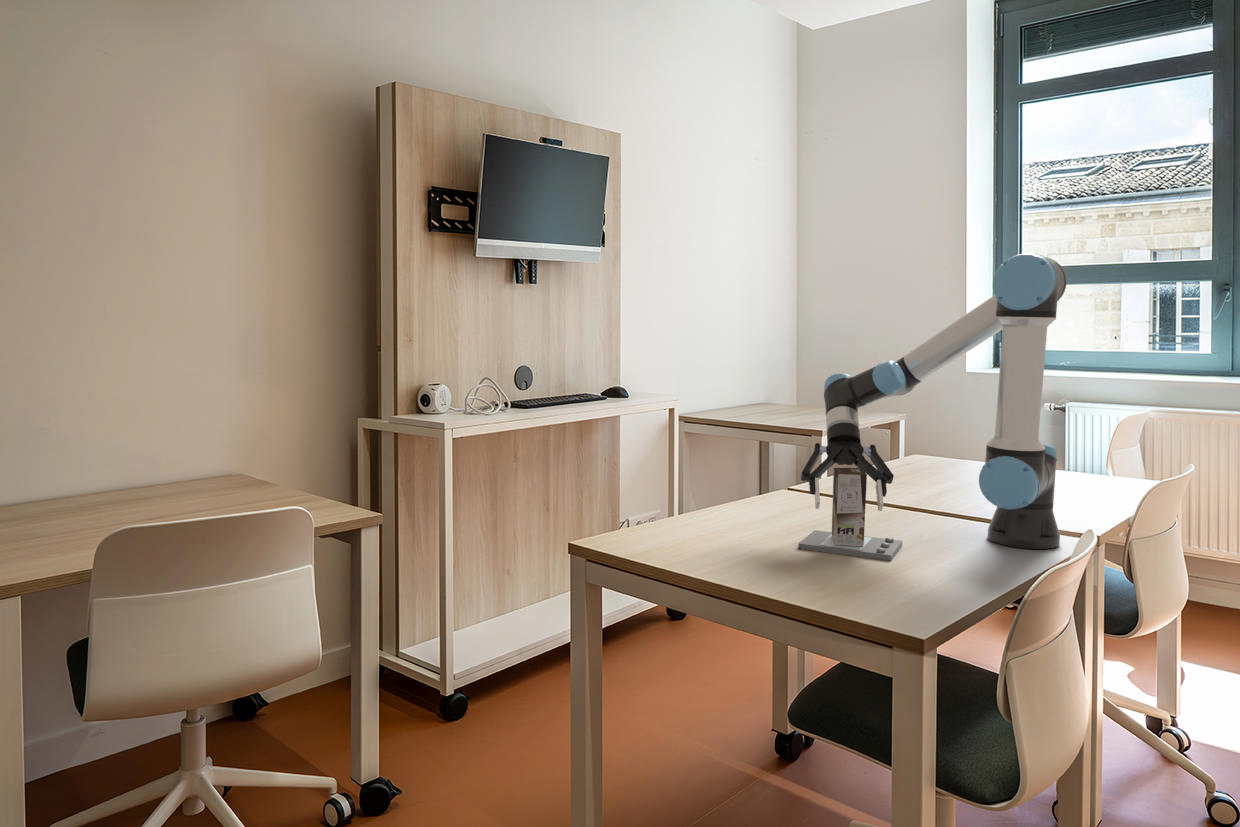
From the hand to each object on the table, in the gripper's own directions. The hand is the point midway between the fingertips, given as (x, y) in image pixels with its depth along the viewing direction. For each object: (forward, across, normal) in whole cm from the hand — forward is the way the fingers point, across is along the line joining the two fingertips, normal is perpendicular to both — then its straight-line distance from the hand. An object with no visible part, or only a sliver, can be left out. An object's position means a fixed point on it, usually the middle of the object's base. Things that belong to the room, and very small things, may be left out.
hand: (849, 506), depth 189 cm
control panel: (+5, -1, -8) cm, 10 cm away
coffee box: (+4, 0, -8) cm, 9 cm away
